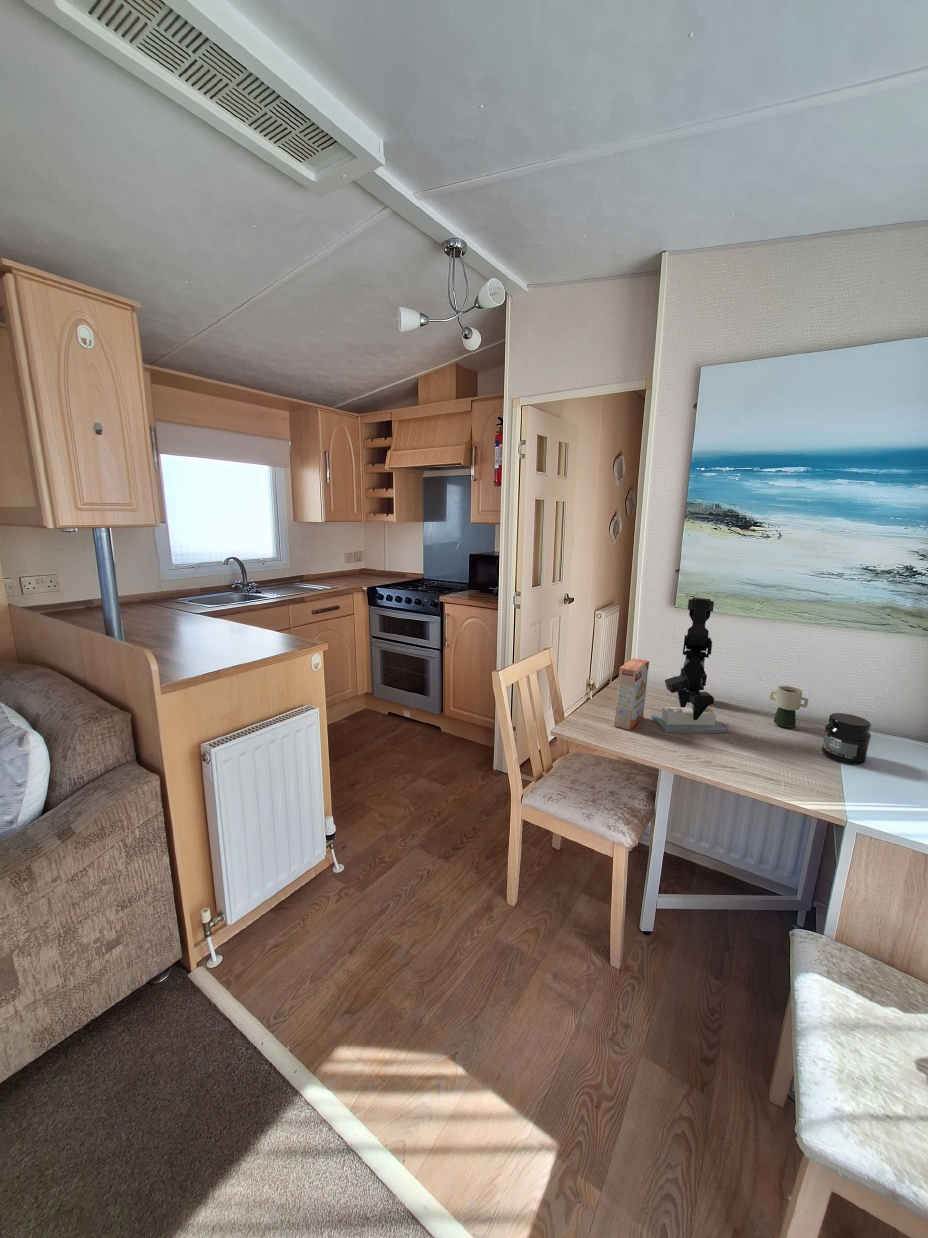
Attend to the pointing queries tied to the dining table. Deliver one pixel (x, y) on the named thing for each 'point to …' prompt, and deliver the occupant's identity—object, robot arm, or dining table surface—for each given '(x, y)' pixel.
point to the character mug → (787, 705)
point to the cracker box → (631, 693)
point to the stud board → (688, 726)
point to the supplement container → (846, 738)
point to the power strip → (687, 716)
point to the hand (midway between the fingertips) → (688, 714)
